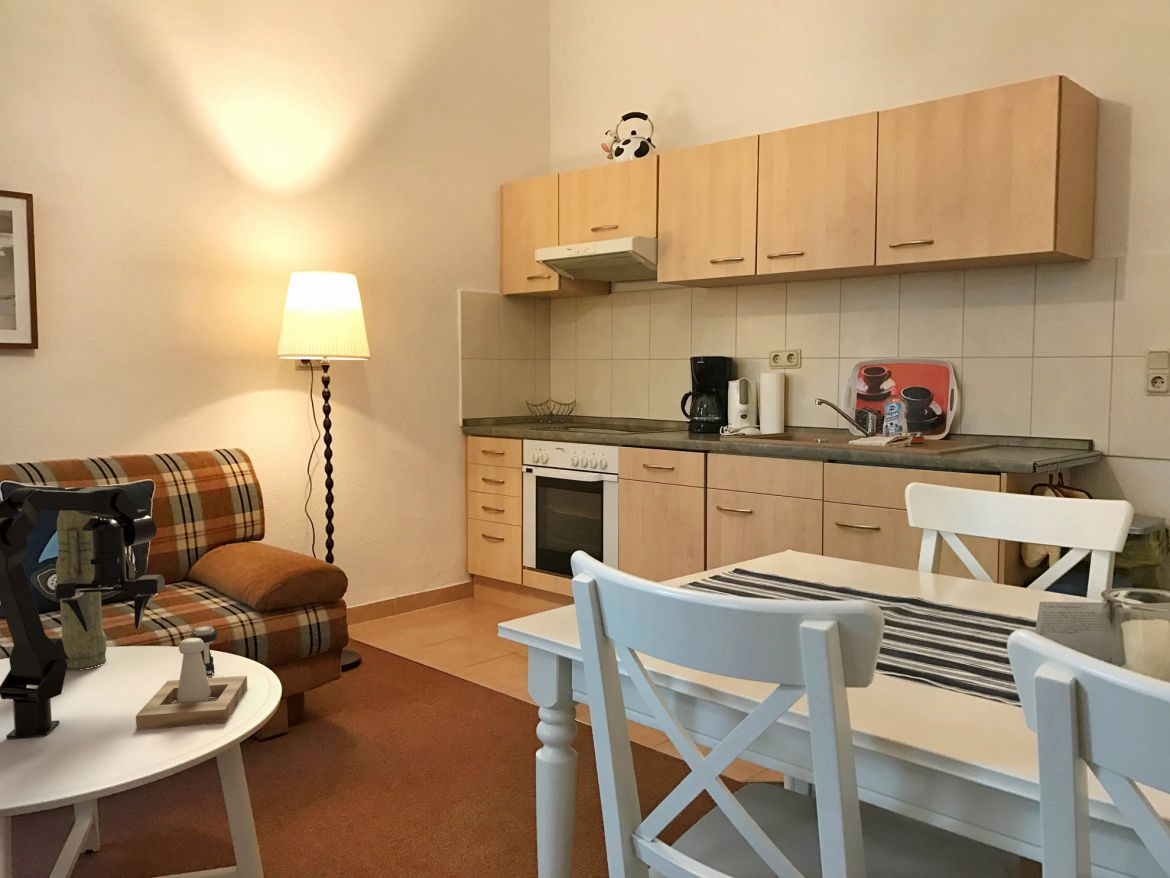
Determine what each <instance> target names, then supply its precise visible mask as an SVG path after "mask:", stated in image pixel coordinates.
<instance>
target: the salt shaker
mask: <svg viewBox="0 0 1170 878" xmlns="http://www.w3.org/2000/svg"><path fill="white" fill-rule="evenodd" d="M203 649H204V642H203V640H201V639H200V638H192V637H189V638H185V639H183V640H181V641H180V642H179V645H178V651H179V653H180V654H182V655H183V656H182V664H181V670H180V676H179V680H180V681H179V687H178V694H177V699H178V700H177V701H178V704H183V703H198V702H209V700H210V699H211V698H210V695H211V691H210V687H209V683H208V679H207V675H206V671H205V667H204V663H203V659H202V655H201V651H203Z"/></svg>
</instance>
